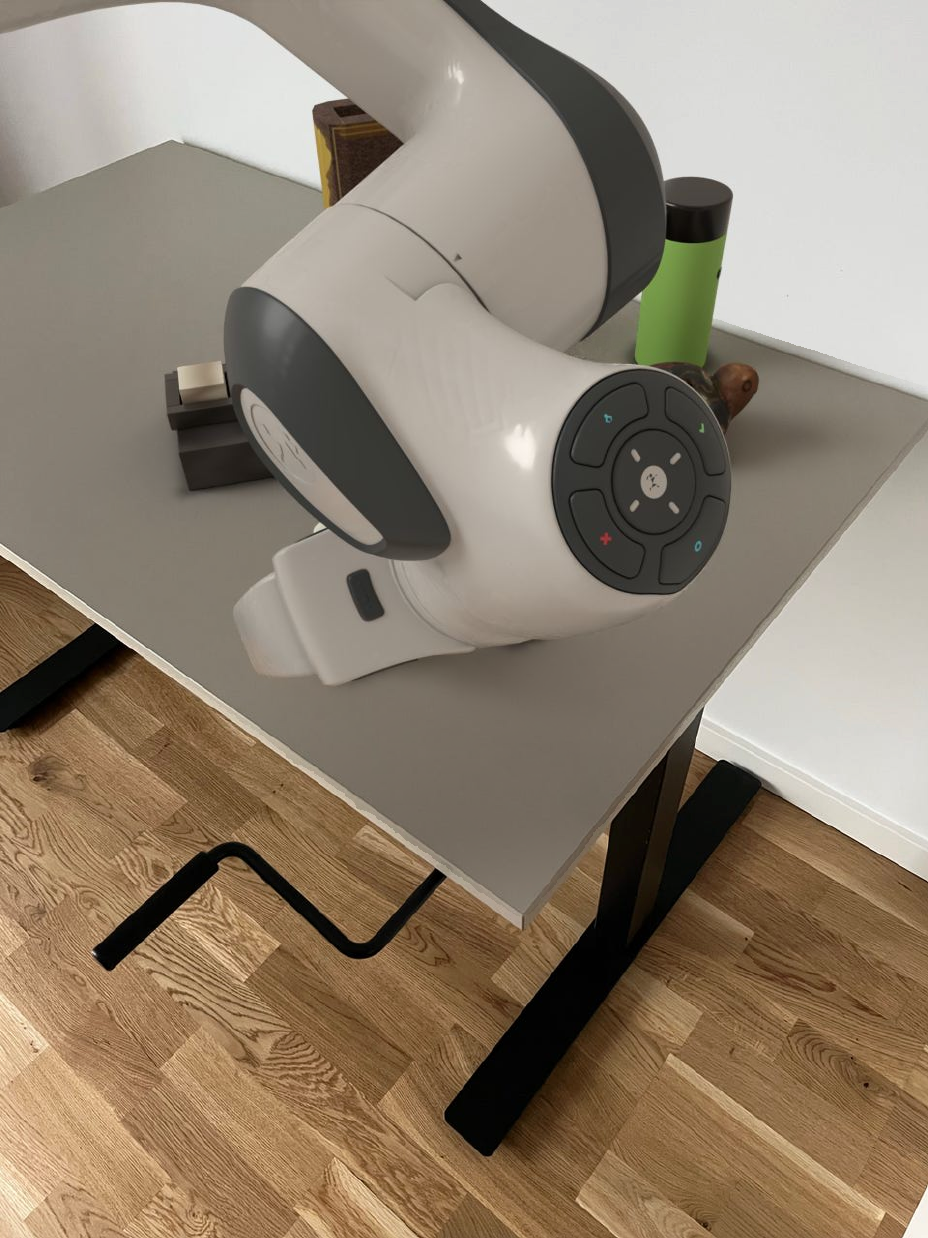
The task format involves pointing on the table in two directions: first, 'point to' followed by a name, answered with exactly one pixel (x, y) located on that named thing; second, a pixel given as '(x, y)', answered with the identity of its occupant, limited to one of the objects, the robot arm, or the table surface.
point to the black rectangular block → (211, 440)
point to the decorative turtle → (718, 386)
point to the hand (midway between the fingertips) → (392, 583)
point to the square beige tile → (202, 382)
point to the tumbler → (685, 274)
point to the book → (348, 147)
